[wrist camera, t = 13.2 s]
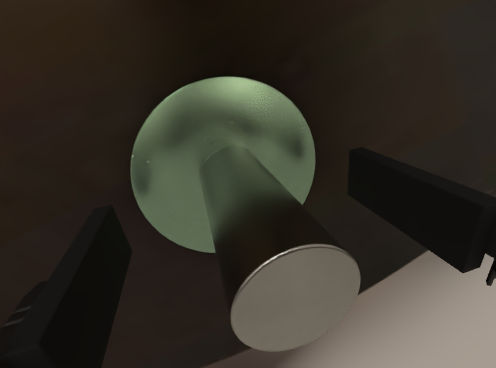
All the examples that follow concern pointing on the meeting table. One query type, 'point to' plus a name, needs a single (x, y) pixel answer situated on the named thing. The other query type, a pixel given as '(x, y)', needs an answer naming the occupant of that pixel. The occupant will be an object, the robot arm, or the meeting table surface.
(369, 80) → the meeting table surface
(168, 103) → the bin lid
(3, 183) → the meeting table surface
